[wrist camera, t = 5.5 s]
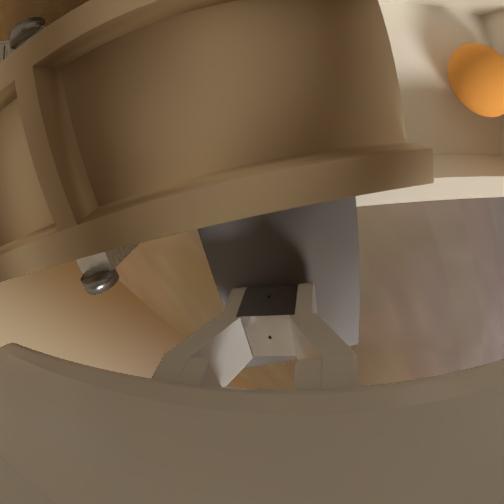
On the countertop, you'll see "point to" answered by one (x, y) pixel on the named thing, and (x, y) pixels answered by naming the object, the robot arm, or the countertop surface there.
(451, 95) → the white open tray
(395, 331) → the countertop surface
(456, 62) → the ball
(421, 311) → the countertop surface
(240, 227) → the lever
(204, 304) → the countertop surface
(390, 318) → the countertop surface
